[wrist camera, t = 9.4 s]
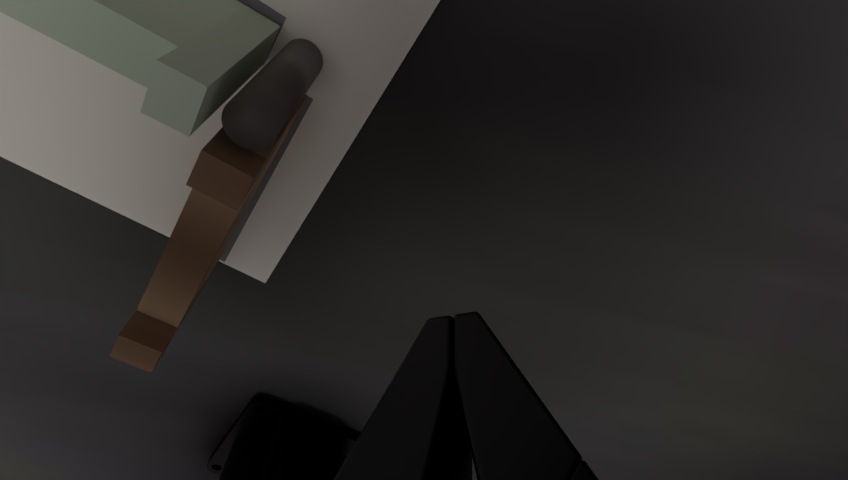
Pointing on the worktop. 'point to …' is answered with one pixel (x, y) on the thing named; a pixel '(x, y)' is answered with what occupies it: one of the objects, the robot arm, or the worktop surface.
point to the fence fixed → (219, 198)
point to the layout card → (176, 152)
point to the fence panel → (161, 47)
